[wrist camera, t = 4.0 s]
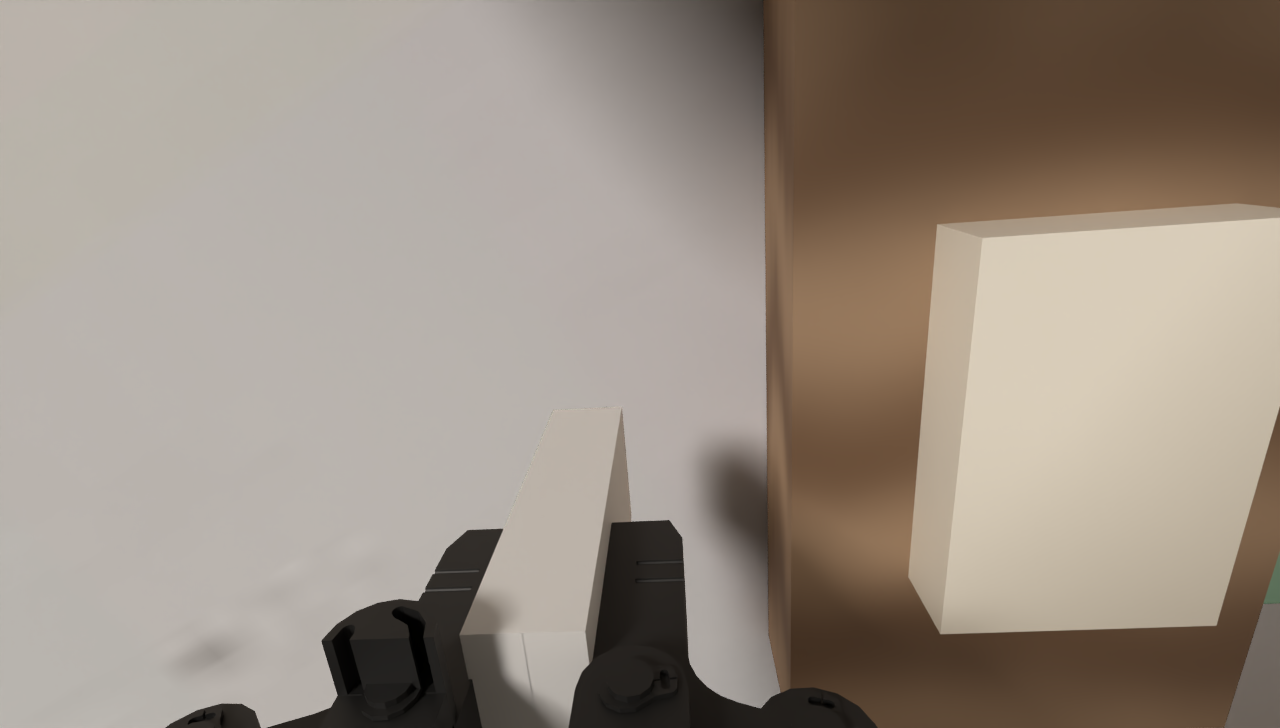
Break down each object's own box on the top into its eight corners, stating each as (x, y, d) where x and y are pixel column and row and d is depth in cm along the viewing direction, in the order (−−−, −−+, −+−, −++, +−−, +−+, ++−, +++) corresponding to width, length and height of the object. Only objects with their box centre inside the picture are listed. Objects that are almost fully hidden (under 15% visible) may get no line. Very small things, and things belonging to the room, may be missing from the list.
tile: (936, 224, 13) (982, 237, 11) (1236, 203, 13) (1335, 213, 11) (908, 576, 16) (940, 634, 14) (1150, 567, 16) (1216, 625, 14)
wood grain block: (763, -15, 15) (795, -67, 12) (1281, -64, 15) (1496, -135, 11) (768, 634, 22) (790, 737, 18) (1124, 623, 21) (1224, 727, 17)
